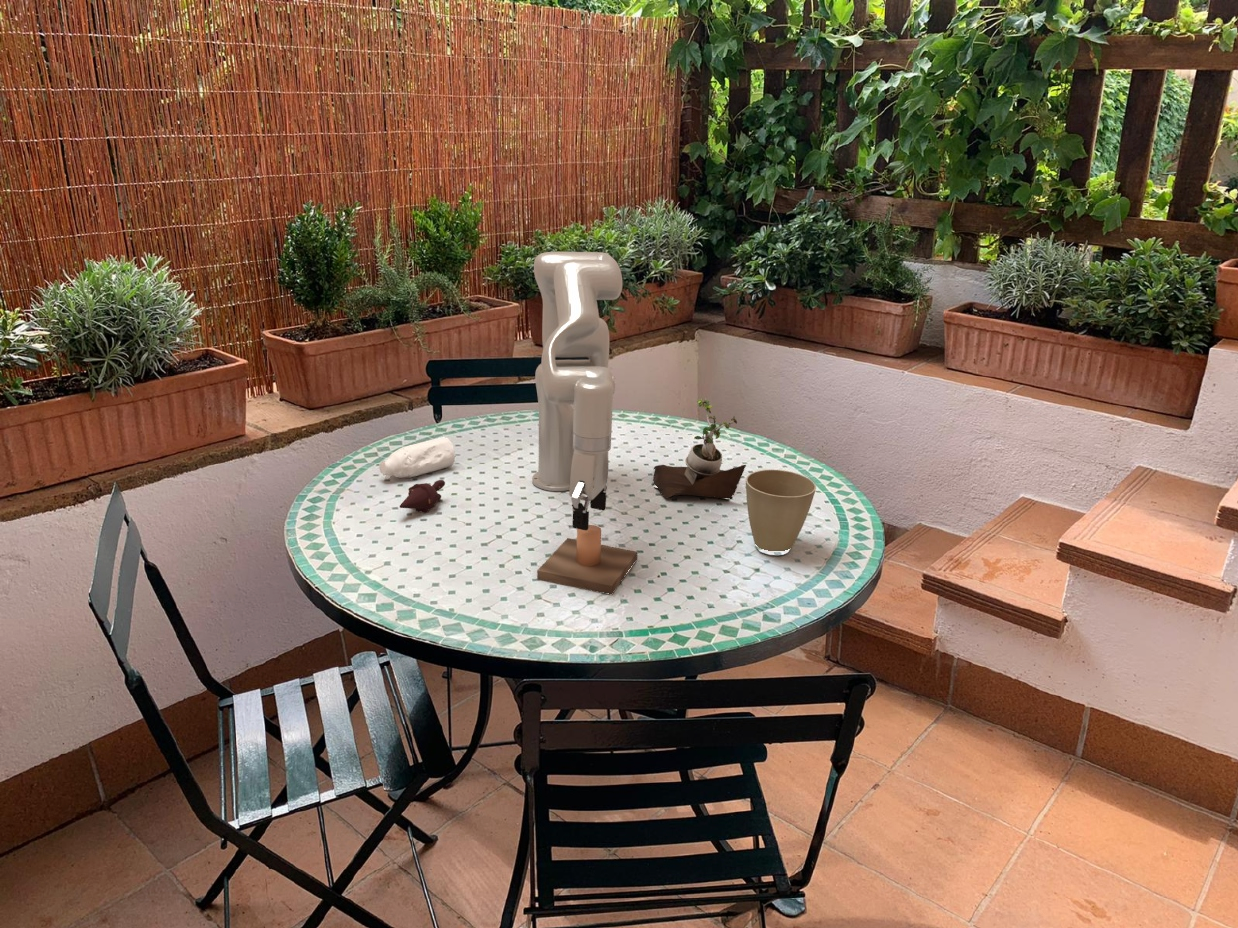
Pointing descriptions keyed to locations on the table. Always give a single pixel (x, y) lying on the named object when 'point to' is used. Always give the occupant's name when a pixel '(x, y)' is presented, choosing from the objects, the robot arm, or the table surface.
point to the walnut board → (587, 568)
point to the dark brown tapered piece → (423, 496)
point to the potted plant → (700, 468)
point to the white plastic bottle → (419, 458)
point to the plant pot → (777, 507)
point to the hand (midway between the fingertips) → (589, 518)
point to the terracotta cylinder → (589, 546)
